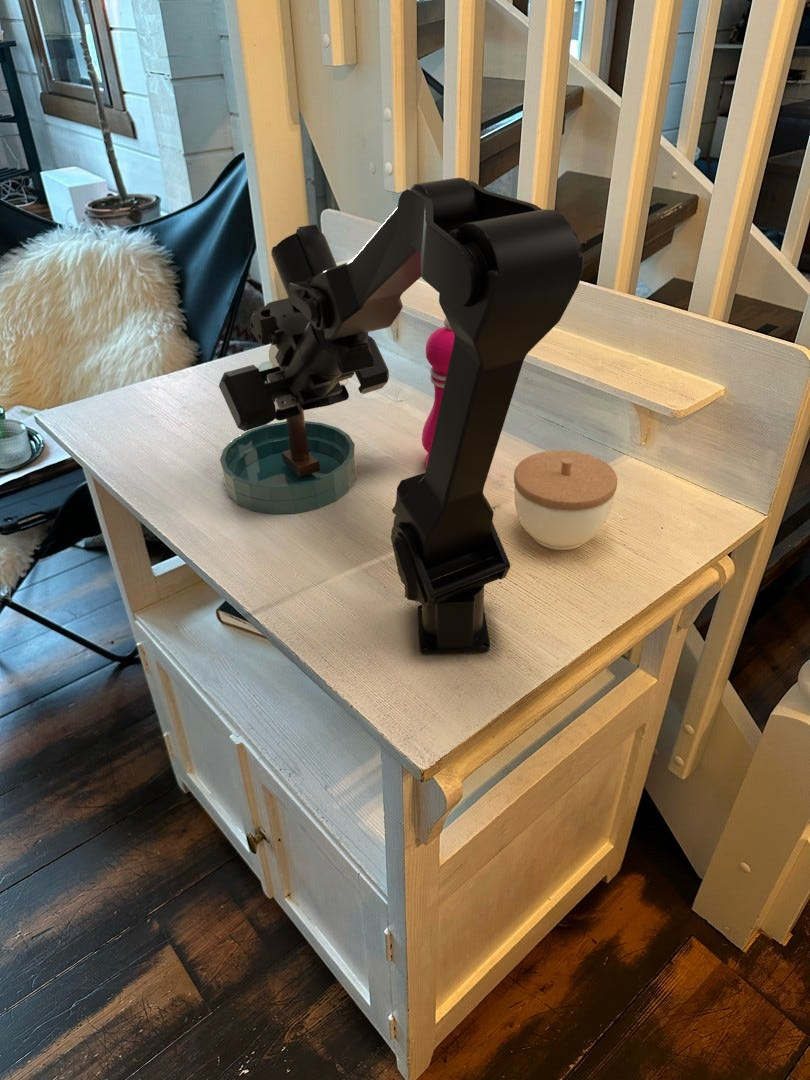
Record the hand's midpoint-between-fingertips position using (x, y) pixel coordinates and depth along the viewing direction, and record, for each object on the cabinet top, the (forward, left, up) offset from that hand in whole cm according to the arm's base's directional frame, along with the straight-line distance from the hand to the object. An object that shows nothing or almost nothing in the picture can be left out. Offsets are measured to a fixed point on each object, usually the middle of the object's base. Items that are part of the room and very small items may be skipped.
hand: (289, 409), depth 92 cm
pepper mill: (0, -20, -9) cm, 22 cm away
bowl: (-2, 0, -9) cm, 9 cm away
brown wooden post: (-1, -1, -7) cm, 7 cm away
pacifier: (+28, +6, -9) cm, 30 cm away
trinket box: (-15, -31, -9) cm, 35 cm away
